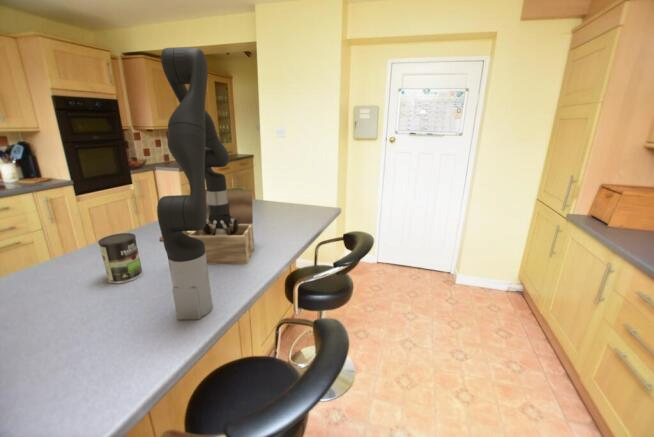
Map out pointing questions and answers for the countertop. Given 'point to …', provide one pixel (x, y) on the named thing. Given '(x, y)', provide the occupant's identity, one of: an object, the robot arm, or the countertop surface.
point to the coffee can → (121, 257)
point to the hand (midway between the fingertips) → (222, 243)
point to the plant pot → (236, 188)
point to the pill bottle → (221, 231)
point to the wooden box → (227, 245)
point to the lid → (239, 206)
